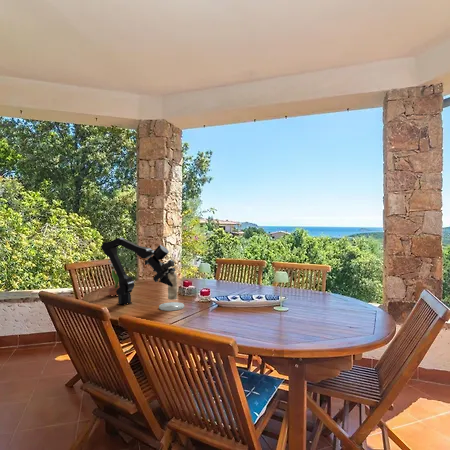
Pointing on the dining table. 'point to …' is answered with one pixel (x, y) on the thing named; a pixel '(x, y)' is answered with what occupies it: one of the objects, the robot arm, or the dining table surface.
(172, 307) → the plate
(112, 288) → the potted flower
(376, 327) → the dining table surface
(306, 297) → the dining table surface
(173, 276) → the beige striped cylinder
